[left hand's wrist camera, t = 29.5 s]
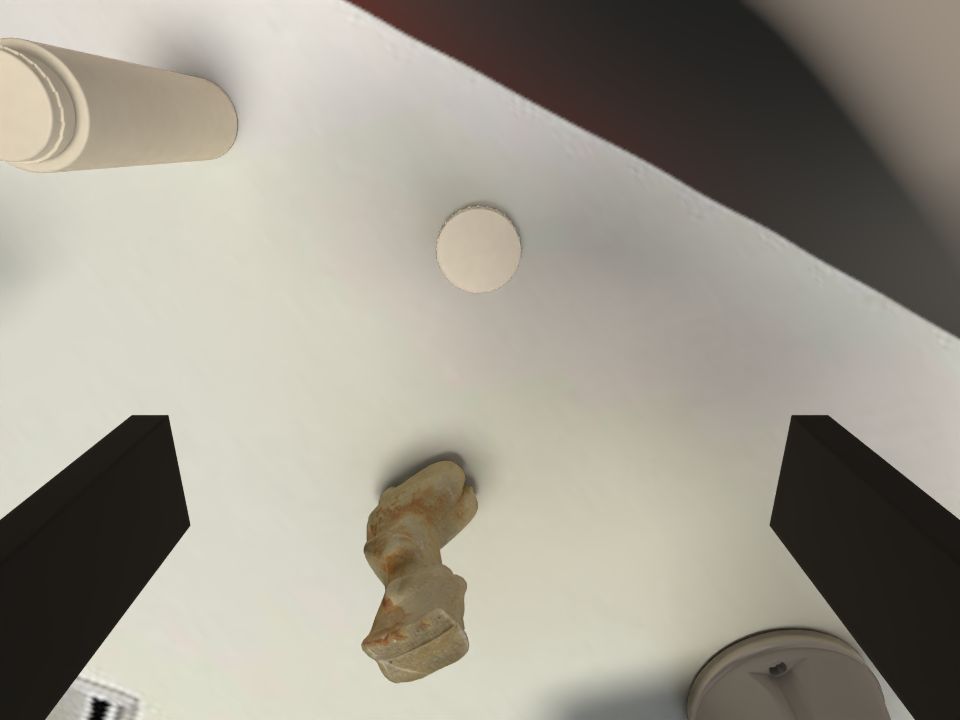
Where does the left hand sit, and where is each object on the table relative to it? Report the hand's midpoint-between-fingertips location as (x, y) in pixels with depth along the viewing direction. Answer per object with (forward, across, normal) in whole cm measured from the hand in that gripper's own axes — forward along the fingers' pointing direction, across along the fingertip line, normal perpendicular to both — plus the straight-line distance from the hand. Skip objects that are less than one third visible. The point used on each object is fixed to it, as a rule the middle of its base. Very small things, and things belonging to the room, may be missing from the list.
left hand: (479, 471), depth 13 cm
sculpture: (+26, +4, +17) cm, 32 cm away
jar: (+26, +16, -8) cm, 32 cm away
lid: (+25, 0, 0) cm, 25 cm away
